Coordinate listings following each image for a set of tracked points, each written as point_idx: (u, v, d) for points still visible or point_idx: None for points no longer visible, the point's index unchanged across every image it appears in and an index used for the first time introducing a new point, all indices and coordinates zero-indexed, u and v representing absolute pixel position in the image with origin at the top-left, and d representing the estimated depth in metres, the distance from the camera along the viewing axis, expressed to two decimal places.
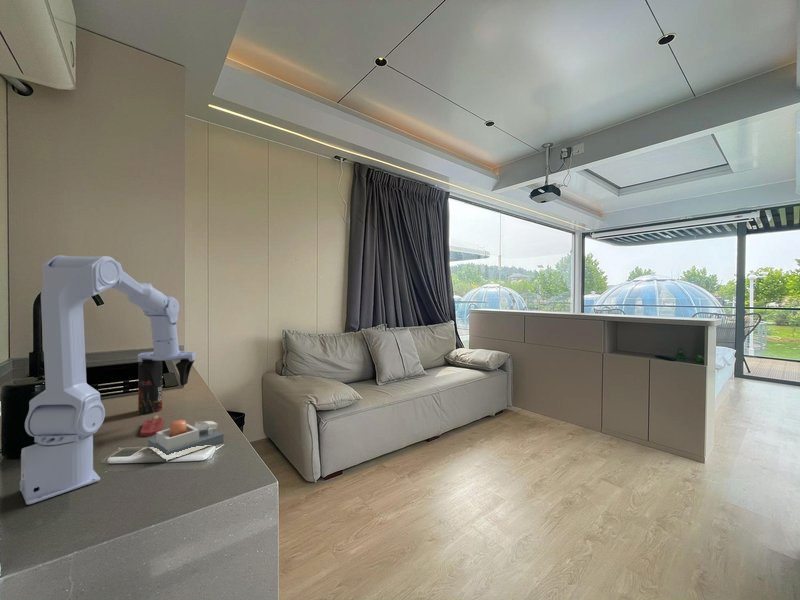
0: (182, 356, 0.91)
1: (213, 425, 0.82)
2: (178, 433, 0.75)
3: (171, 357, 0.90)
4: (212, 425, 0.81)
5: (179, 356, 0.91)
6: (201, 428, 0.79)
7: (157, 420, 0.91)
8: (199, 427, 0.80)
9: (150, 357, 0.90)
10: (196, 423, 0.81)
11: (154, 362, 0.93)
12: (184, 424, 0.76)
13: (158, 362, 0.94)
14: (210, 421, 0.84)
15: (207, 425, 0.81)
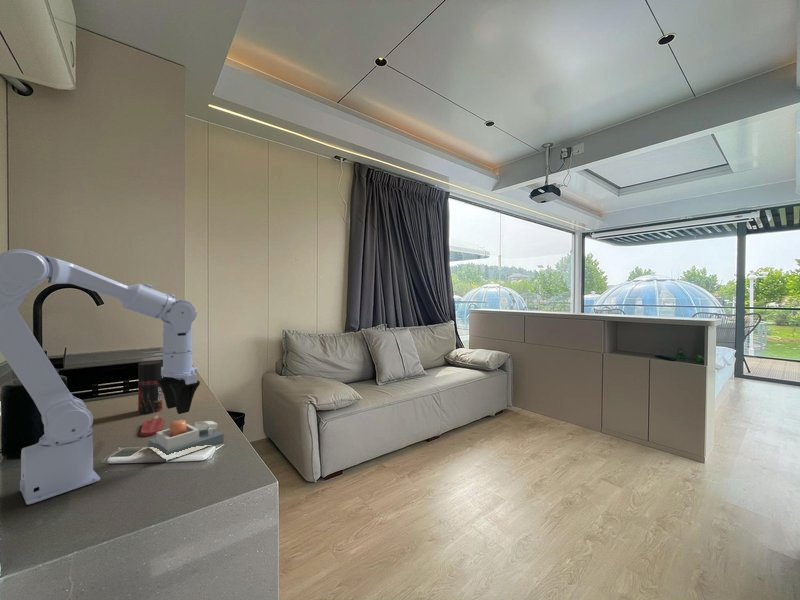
0: (179, 376, 0.72)
1: (213, 425, 0.82)
2: (178, 433, 0.75)
3: (170, 375, 0.73)
4: (212, 425, 0.81)
5: (177, 375, 0.72)
6: (201, 428, 0.79)
7: (157, 420, 0.91)
8: (199, 427, 0.80)
9: (162, 371, 0.76)
10: (196, 423, 0.81)
11: (173, 379, 0.78)
12: (184, 424, 0.76)
13: None
14: (210, 421, 0.84)
15: (207, 425, 0.81)
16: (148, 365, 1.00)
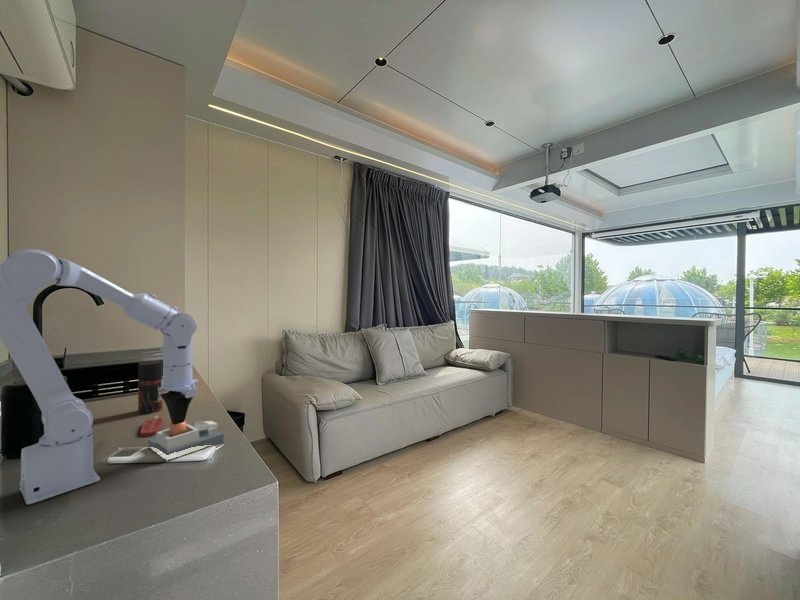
0: (180, 389, 0.72)
1: (213, 425, 0.82)
2: (178, 433, 0.75)
3: (170, 389, 0.73)
4: (212, 425, 0.81)
5: (177, 389, 0.72)
6: (201, 428, 0.79)
7: (157, 420, 0.91)
8: (199, 427, 0.80)
9: (162, 384, 0.76)
10: (196, 423, 0.81)
11: None
12: (184, 424, 0.76)
13: None
14: (210, 421, 0.84)
15: (207, 425, 0.81)
16: (148, 365, 1.00)
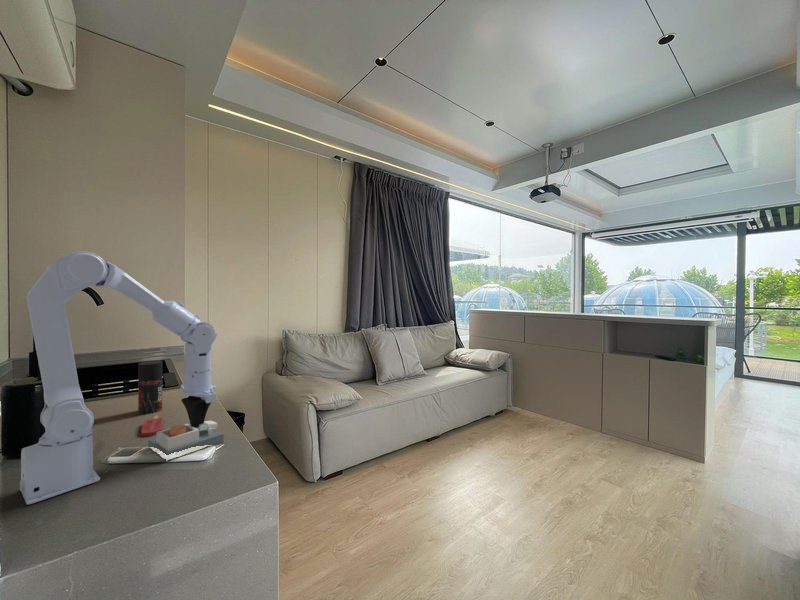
0: (200, 395, 0.76)
1: (213, 425, 0.82)
2: None
3: (191, 394, 0.77)
4: (212, 425, 0.81)
5: (198, 394, 0.76)
6: (201, 428, 0.79)
7: (157, 420, 0.91)
8: (199, 427, 0.80)
9: (182, 389, 0.80)
10: None
11: None
12: (184, 429, 0.76)
13: None
14: (210, 421, 0.84)
15: (207, 425, 0.80)
16: (148, 365, 1.00)
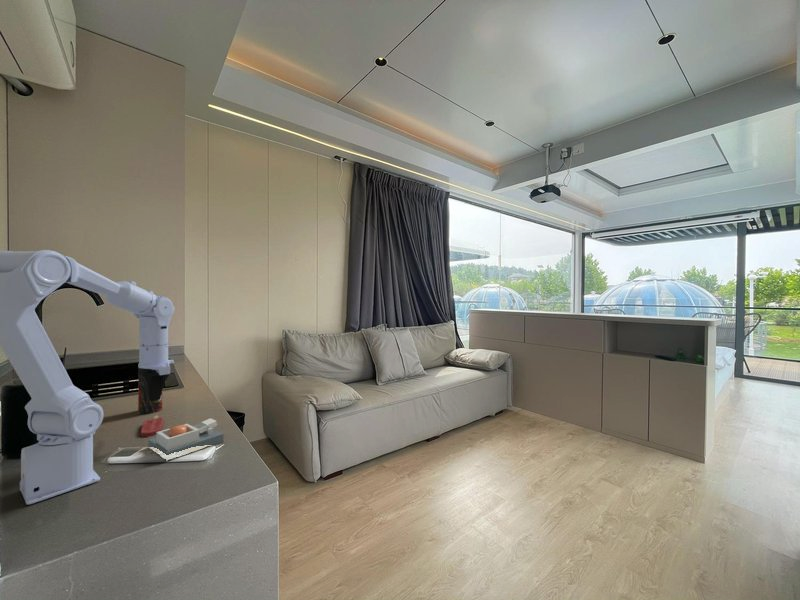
0: (154, 367, 0.76)
1: (212, 424, 0.82)
2: None
3: (145, 367, 0.77)
4: (211, 424, 0.81)
5: (152, 367, 0.77)
6: (201, 431, 0.79)
7: (157, 420, 0.91)
8: (199, 430, 0.80)
9: None
10: (195, 427, 0.81)
11: None
12: (184, 429, 0.76)
13: None
14: (209, 419, 0.83)
15: (206, 426, 0.80)
16: None
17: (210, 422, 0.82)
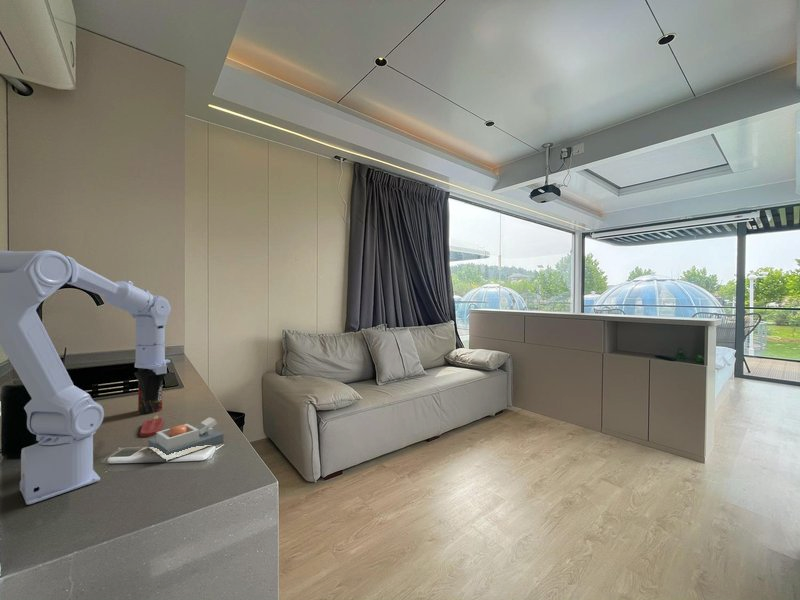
0: (150, 367, 0.77)
1: (212, 423, 0.81)
2: None
3: (142, 366, 0.77)
4: (211, 424, 0.81)
5: (148, 366, 0.77)
6: (201, 432, 0.80)
7: (157, 420, 0.91)
8: (199, 432, 0.80)
9: (135, 363, 0.81)
10: None
11: None
12: (184, 429, 0.76)
13: None
14: (208, 418, 0.83)
15: (206, 427, 0.80)
16: None
17: (209, 422, 0.82)
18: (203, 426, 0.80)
